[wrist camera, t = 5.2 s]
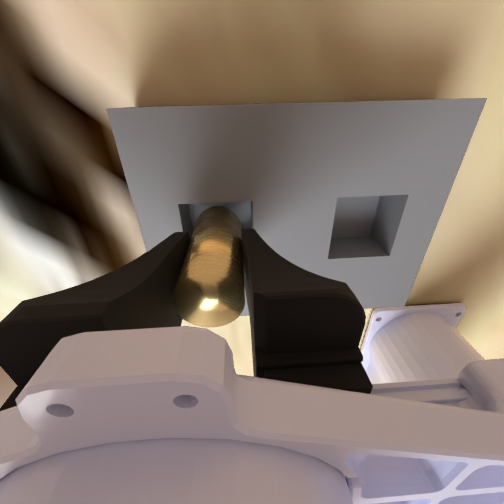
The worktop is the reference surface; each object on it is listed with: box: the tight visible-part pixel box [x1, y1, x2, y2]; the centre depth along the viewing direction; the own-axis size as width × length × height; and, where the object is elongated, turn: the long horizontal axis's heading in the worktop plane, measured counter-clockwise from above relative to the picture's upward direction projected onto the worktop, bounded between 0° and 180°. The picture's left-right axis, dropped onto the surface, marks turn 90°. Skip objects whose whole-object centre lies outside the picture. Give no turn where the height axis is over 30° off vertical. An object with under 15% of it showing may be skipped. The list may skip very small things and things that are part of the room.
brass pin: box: [172, 206, 245, 327], centre depth 11 cm, size 2×2×6 cm
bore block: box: [106, 98, 487, 316], centre depth 15 cm, size 12×16×3 cm
